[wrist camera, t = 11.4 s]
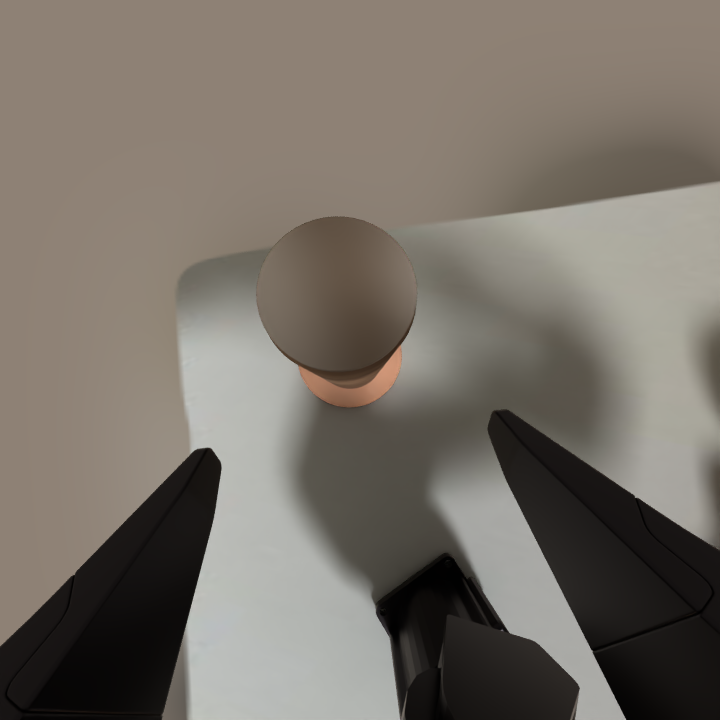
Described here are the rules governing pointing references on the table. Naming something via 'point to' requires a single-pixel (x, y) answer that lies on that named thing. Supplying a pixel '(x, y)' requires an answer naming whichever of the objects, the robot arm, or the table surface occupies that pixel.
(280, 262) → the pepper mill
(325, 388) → the coaster
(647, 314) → the table surface
